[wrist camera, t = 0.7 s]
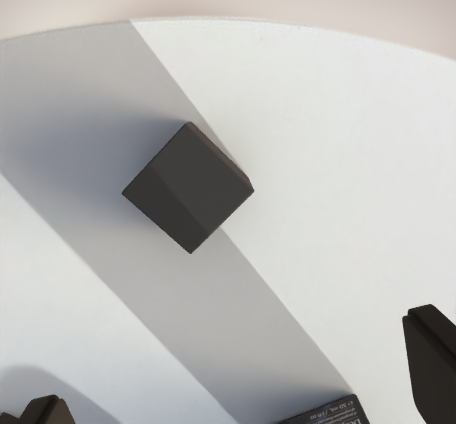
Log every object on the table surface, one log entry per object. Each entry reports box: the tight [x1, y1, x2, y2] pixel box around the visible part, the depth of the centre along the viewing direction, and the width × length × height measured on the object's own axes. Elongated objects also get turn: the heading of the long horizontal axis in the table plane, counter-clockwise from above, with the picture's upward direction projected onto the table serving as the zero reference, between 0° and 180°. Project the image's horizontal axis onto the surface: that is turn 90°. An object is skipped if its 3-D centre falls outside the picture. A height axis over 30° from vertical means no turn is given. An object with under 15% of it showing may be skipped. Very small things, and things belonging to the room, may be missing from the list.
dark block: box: [122, 122, 254, 254], centre depth 22 cm, size 5×5×4 cm
